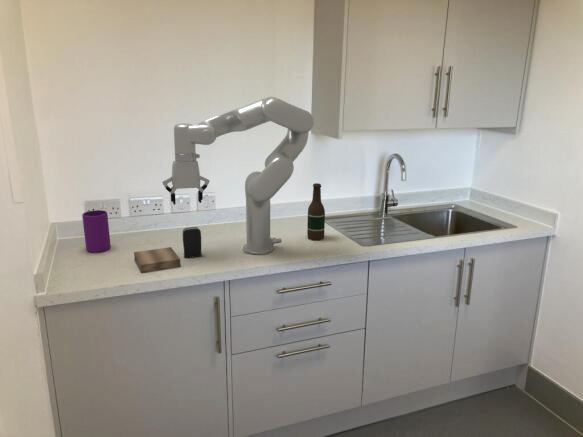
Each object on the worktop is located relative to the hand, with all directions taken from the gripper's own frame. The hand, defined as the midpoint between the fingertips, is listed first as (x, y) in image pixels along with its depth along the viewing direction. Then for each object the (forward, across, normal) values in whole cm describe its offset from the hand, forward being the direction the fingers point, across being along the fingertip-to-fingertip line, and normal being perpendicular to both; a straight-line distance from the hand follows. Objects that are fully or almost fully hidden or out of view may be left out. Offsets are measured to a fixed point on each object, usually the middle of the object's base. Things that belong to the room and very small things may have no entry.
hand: (187, 202), depth 187 cm
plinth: (+21, +13, +6) cm, 25 cm away
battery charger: (+21, -1, +2) cm, 21 cm away
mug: (+22, +34, -20) cm, 45 cm away
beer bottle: (+20, -55, -3) cm, 59 cm away
